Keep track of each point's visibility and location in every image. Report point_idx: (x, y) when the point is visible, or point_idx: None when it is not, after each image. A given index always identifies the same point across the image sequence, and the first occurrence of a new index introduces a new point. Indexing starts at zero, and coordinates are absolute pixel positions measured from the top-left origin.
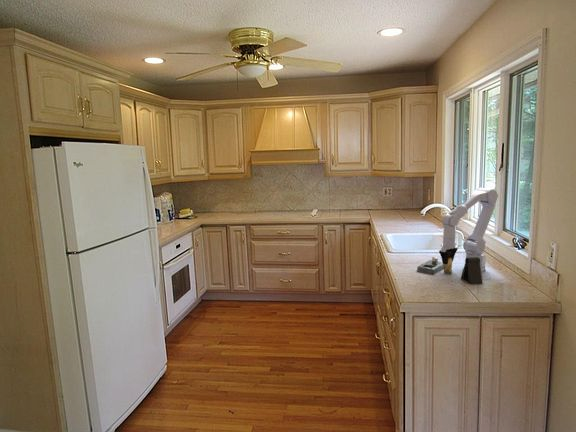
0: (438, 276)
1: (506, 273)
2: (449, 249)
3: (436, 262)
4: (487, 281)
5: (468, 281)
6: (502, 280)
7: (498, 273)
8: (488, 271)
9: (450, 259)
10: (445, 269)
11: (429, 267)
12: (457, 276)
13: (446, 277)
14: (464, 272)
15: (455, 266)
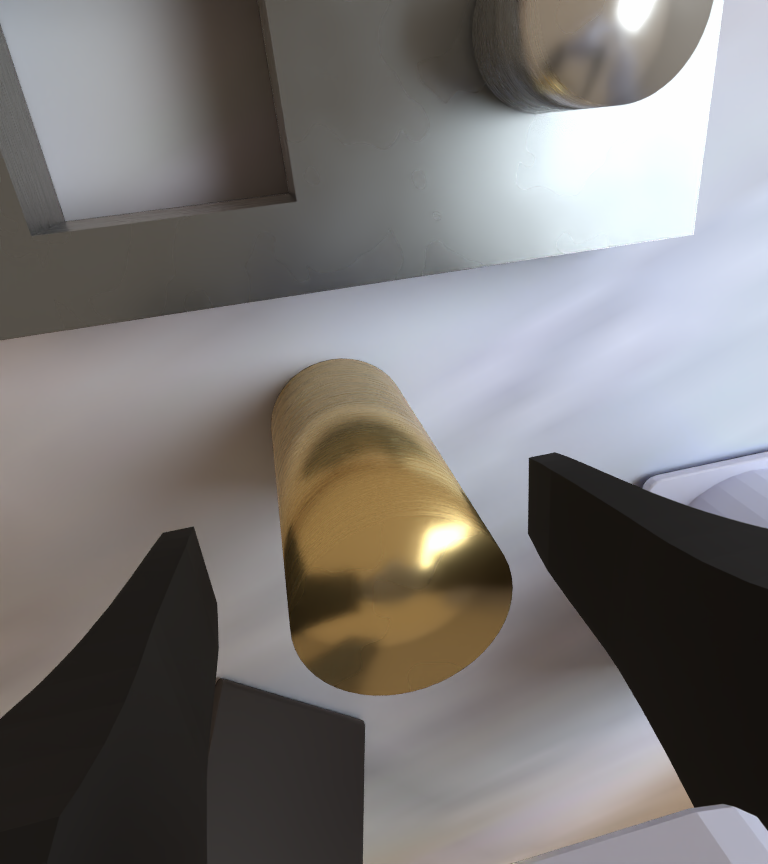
0: (3, 442)
1: None
2: (764, 701)
3: (519, 100)
4: (363, 835)
5: None
6: (494, 860)
7: None
8: None
9: (351, 681)
10: (274, 458)
11: (264, 25)
12: (278, 604)
13: (86, 548)
14: None
15: (758, 320)
